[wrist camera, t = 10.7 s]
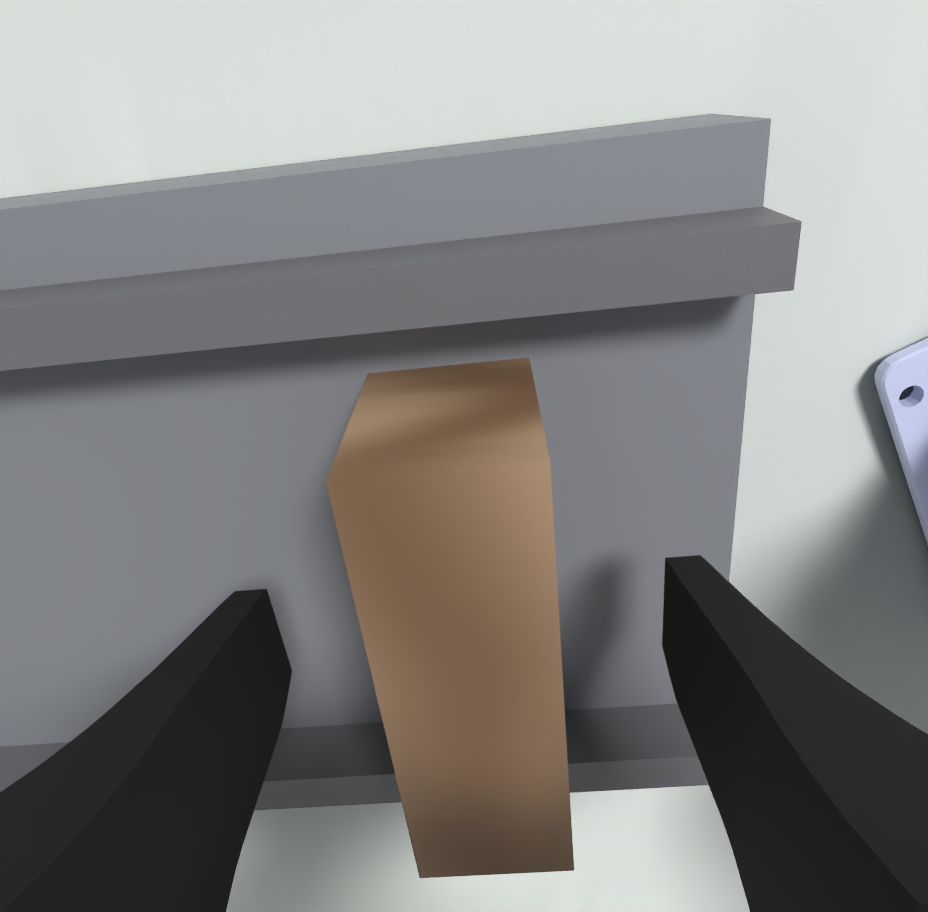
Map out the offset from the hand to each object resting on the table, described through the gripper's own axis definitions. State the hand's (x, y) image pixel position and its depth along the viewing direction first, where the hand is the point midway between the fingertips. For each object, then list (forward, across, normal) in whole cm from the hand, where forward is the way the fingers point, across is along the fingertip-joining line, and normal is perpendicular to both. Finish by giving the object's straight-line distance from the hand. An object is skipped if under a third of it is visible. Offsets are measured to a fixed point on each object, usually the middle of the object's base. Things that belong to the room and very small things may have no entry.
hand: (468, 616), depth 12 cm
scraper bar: (+2, 0, 0) cm, 2 cm away
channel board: (+5, +4, 0) cm, 7 cm away
